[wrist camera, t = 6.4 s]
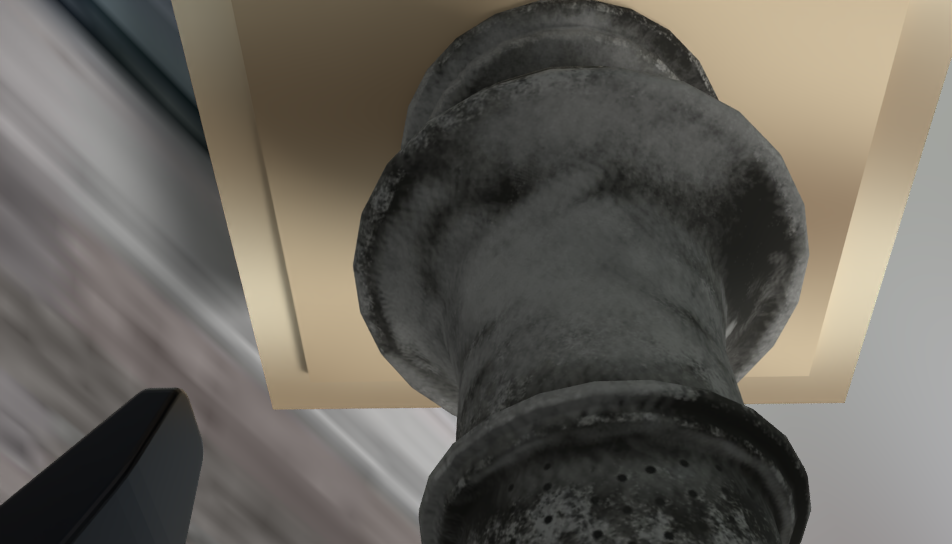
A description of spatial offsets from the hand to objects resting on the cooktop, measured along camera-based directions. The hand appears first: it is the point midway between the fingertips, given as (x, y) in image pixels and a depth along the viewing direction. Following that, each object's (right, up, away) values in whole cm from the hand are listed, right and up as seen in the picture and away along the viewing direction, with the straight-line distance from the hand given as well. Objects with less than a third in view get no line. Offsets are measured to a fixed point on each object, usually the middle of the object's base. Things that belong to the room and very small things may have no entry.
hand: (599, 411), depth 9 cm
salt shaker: (0, +4, +5) cm, 6 cm away
